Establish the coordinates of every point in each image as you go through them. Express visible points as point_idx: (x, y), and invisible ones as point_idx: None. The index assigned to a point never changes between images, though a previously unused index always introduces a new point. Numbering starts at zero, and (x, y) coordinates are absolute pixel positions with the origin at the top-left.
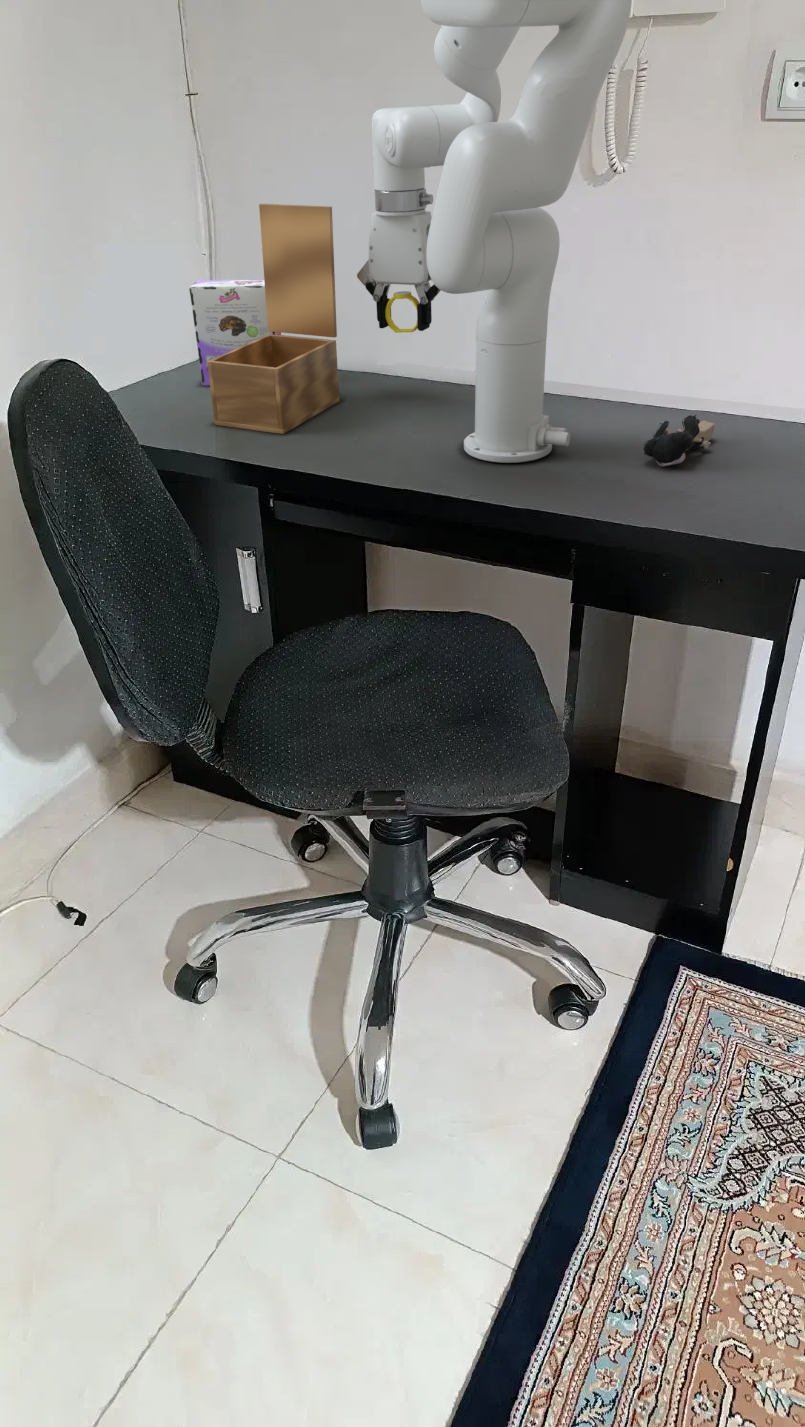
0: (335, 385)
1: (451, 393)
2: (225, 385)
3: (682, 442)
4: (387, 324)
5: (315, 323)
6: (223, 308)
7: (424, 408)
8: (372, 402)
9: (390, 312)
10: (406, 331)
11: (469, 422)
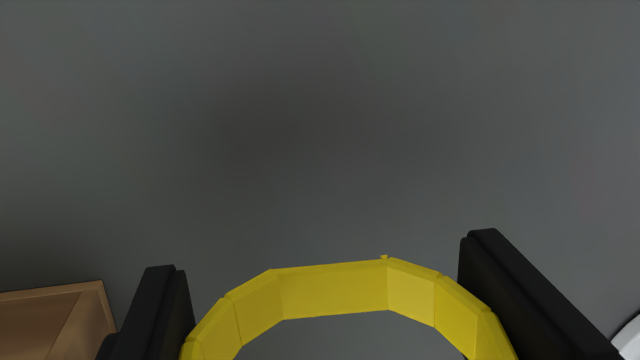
0: (88, 338)
1: (421, 22)
2: None
3: None
4: (192, 327)
5: None
6: None
7: (399, 214)
8: (211, 239)
9: (168, 331)
10: (355, 312)
11: (561, 258)
